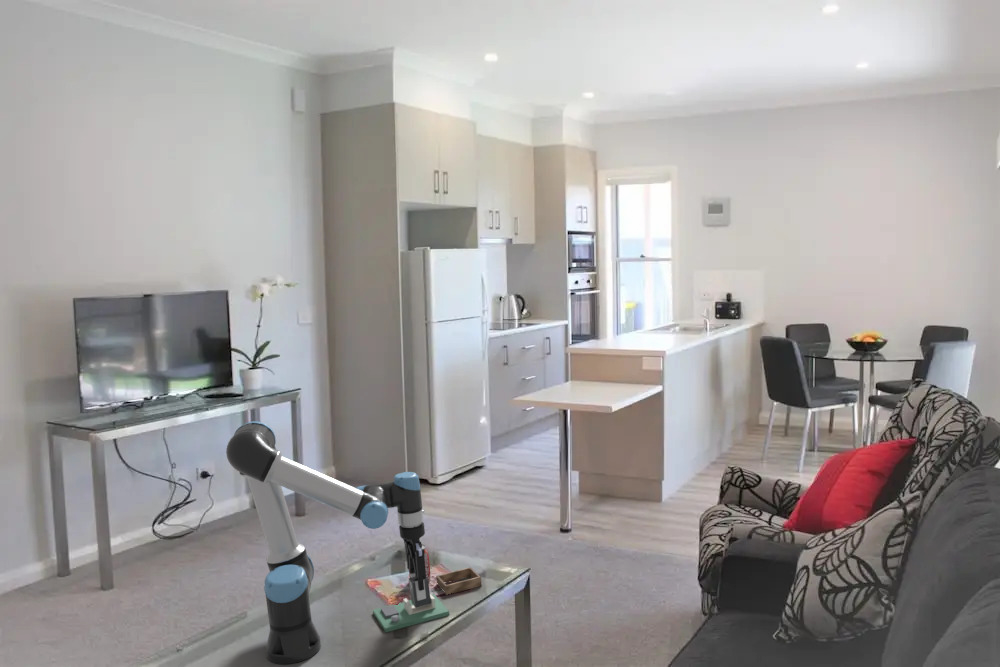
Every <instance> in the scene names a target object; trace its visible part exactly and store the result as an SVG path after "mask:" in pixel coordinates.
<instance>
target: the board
mask: <svg viewBox="0 0 1000 667" xmlns="http://www.w3.org/2000/svg"><path fill="white" fill-rule="evenodd" d="M402 599H403V601H401V602H402V603H401V602H398V603H399V604H398V605H393V604H389V605H386V606H382V607H379V608H375V609H372V613H373V615H374V617H375V618H376V620H377V621H378V623H379V625H380V626H381V627H382V629H383V631H384V632H385V633H388V632H393V631H397V630H399V629H402V628H403V629H404V628H406V627H410V626H413V625H417V624H422V623H425V622H428V621H432V620H436V619H440V618H443V617H447V616H450V611H449V610H448V608H447V606H445V605H444V603H443V602H442V601H441V600H440V599H439V597H437V596H436V595H435V593H432V594H431V593H430V599H431V604H427V605H424V606H420V607H417V608H415V607H414V605H413V604H412V602H411V599H408V598H407V597H405V598H402Z"/></svg>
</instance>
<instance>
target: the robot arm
mask: <svg viewBox="0 0 1000 667" xmlns="http://www.w3.org/2000/svg"><path fill="white" fill-rule="evenodd" d="M275 435H276V434H275V432H274V431H273V429H272V428H271V426H269V425H268V424H266V423H265V422H262V421H258V420H257V421H256V420H255V421H254V420H253V421H248V422H246V423H244V424H242V425H241V426H239V427H238V428H237V429H236V431H235V432H234V434H233V435H232V437H231V438H230V439H229V441H228V443H227V445H226V452H225V453H226V457H227V458H226V459H227V460H228V462H229V464H230V466H231V467H232V468H234V469H235V470H236V471H238V472H239V475H240V477H244V478H246V479H247V483H248V487H249V489H250V492H251V496H252V498H253V503H254V506H255V509H256V512H257V516H258V519H259V522H260V523H259V524H260V525H261V529H262V533H263V534H264V538H265V542H266V544H267V547H268V552H269V553H268V555H267V556H266V564H267V567H268V570H269V572H268V573H267V574H266V576H265V578H264V585H263V586H264V587H263V589H264V593H265V598H266V606H267V607H266V608H267V616H268V622H269V632H268V638H267V642H266V646H265V647H266V648H265V653H266V657H267V658H266V659H267V660H269V662H271V663H273V664H281V665H288V664H295V663H300V662H303V661H306V660H307V659H310V658H311V657H313V656H315V655H316V654H317V653H318V652H319V651H320V650H321V647H322V644H321V642H322V641H321V638H320V635H319V632H318V630H317V628H316V626H315V624H314V623H313V620H312V613H311V604H310V603H311V601H310V591H311V587H312V582H313V579H314V575H315V573H314V572H315V566H314V564H313V563H314V562H313V561H312V559H311V557H310V556H309V555H308V554H307V550H306V547H305V545H304V544H303V543H299V541H298V538H297V535H296V534H297V533H296V532H295V528H294V525H293V521H292V517H291V515H290V511H289V507H288V504H287V501H286V498H285V495H284V491H283V488H285V489H288V490H290V491H292V492H294V493H297V494H300V495H301V496H304V497H307V498H308V499H311V500H314V501H316V502H318V503H321V504H323V505H325V506H328V507H329V508H332V509H335V510H337V511H340V512H341V513H344V514H346V515H349V516H351V517H354V518H356V519H358V520H360V521H361V523H362V524H363V525H364V527H366V528H367V529H372V530H376V529H379V528H381V527H383V526H384V524H386V522H387V520H388V516H389V509H392V508H397V510H396V511H397V521H398V525H399V526H398V527H399V537H400V538H401V539H402V540H403V543H404V544H403V545H404V550H405V559H406V568H407V569H408V573H409V572H410V573H411V574H410V577H411V578H412V577H416V579H414V581H415V586H416V595H417V601H419V600H423V599H426V592H425V583H424V579H426V569H425V559H424V549H422V544H423V543H422V541H420V539H421V538H422V537H424V535H425V534H426V532H425V531H426V530H425V524H424V523H425V522H424V514H425V510H424V509H423V503H422V500H423V499H422V490H421V489H422V488H421V483H420V476H419V475H418V474H417V473H416V472H414V471H413V472H412V471H404V472H400V473H397V474H395V475H394V477H393V481H391V482H385V483H384V482H383V483H374V484H365V485H360V486H357V487H354V486H352V485H349V484H348V483H345V482H343V481H340V480H339V479H336V478H333V477H331V476H329V475H327V474H324V473H322V472H321V471H320V472H319V471H318V470H315V469H313V468H311V467H309V466H306V465H304V464H301V463H299V462H297V461H295V460H292V459H290V458H288V457H285V456H283V455H282V453H281V451H280V450H278V449H277V448H276V436H275ZM410 577H409V578H410Z"/></svg>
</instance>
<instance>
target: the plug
mask: <svg viewBox="0 0 1000 667" xmlns="http://www.w3.org/2000/svg"><path fill="white" fill-rule="evenodd" d="M414 579H416V577H412V578H410V577H409V578H408V584H409V591H410V600H411V602H412V604H413V605H414V607H415V608H417V607H420V606H424V605H427V604H431V599H430V584H429V581H428V578H427V577H426V579H424V583H425V592H426V599H423V600H419V601H417V595H416V586H415V581H414Z"/></svg>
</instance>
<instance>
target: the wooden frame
mask: <svg viewBox="0 0 1000 667" xmlns="http://www.w3.org/2000/svg"><path fill="white" fill-rule="evenodd" d="M466 578H467V579H466ZM468 578H469V579H468ZM463 579H465V580H463ZM435 580H436V584H437V583H438V585H439V586H440V587H441V588H442V589H443V590H444V591H445V593H446V594H445V593H444V594H445V595H446V596H448V594H449V595H452V594H456V593H460V592H462V591H463V592H464V591H468V590H471V589H475V588H478V587H481V586H482V577H481V575H479V573H477V572H476V571H475V570H474V569H473V568H472V567H471V566H470V567H469V566H468V567H466V568H461V569H459V570H454V571H449V572H446V573H442V574H439V575H436V579H435ZM458 580H461V581H458ZM449 581H452V582H453V583H450V582H449ZM454 581H456V582H454ZM444 582H448V583H450V584H447V583H444ZM438 585H437V586H438ZM439 586H438V587H439ZM440 587H439V588H440ZM441 588H440V589H441ZM451 593H452V594H451Z"/></svg>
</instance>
